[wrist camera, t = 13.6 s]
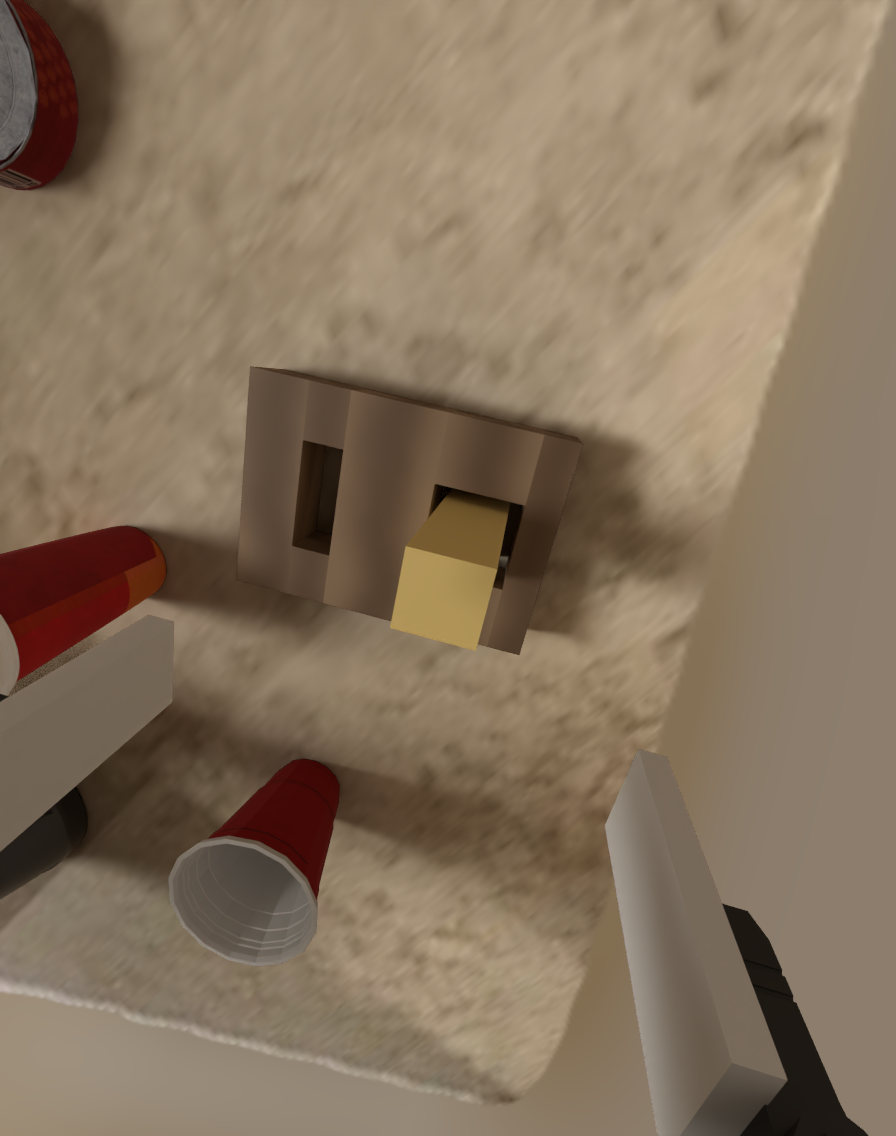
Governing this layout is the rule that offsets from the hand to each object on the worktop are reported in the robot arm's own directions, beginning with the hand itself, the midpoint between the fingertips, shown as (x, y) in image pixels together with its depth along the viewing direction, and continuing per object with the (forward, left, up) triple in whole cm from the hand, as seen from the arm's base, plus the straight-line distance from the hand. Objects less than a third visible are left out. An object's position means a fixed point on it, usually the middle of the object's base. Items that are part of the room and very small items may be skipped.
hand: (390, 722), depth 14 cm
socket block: (-5, 0, -23) cm, 23 cm away
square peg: (0, 0, -23) cm, 23 cm away
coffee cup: (-26, -10, -23) cm, 36 cm away
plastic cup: (-9, -27, -23) cm, 36 cm away
